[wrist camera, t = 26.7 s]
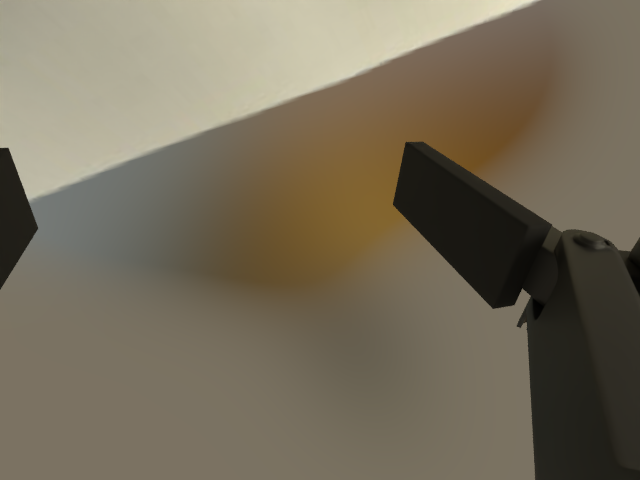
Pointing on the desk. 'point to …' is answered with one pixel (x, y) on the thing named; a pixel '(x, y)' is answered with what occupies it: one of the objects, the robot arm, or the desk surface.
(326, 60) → the desk surface
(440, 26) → the desk surface
